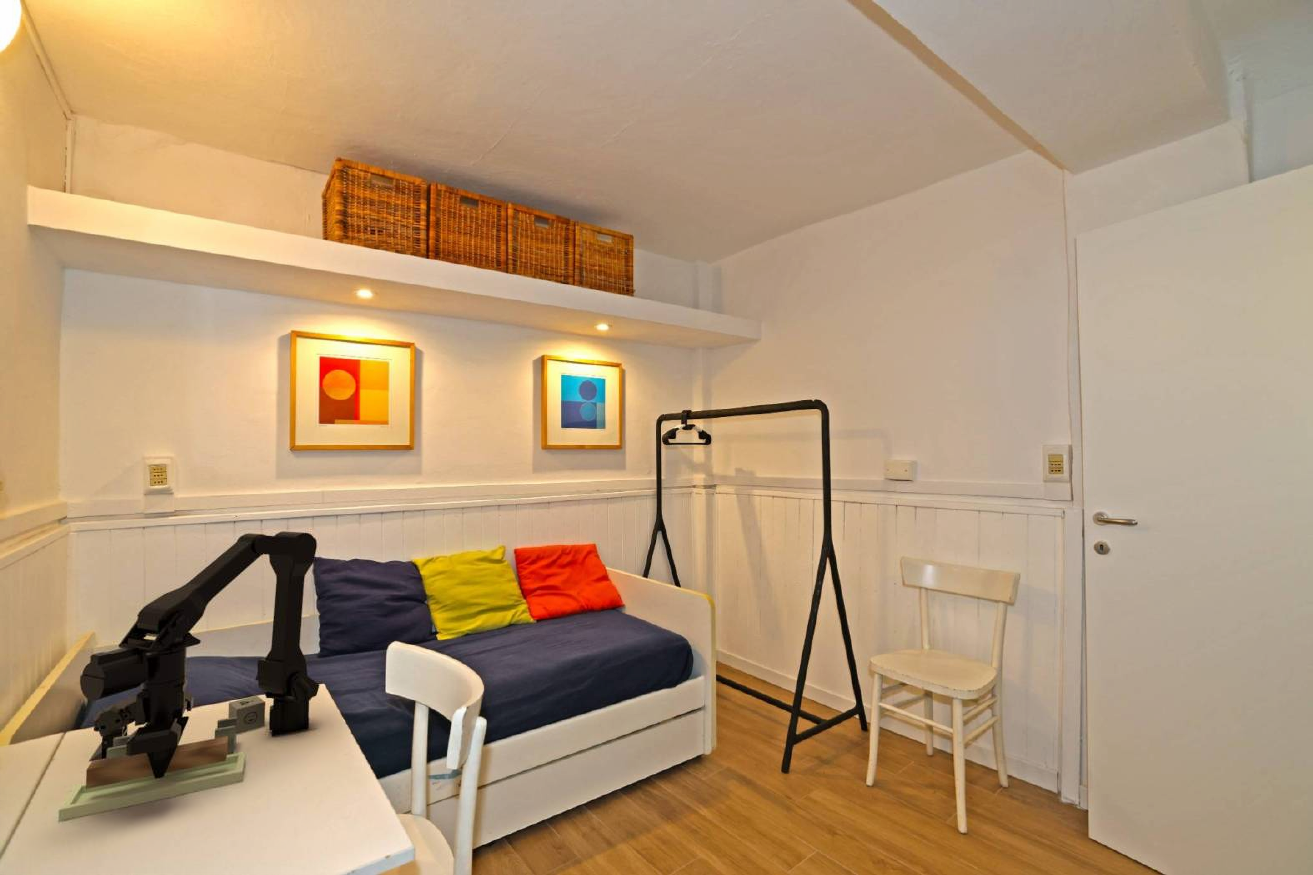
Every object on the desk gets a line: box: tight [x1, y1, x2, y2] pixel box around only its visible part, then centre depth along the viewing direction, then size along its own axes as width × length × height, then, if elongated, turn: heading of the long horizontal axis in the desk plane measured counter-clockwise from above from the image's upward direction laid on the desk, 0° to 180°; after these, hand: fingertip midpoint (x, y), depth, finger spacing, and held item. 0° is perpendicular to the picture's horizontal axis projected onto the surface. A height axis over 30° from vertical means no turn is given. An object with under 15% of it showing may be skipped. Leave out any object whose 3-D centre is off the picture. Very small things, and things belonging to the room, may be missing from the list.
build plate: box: [88, 725, 129, 763], centre depth 115 cm, size 12×7×5 cm, turn 30°
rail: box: [85, 736, 228, 789], centre depth 102 cm, size 18×3×3 cm, turn 121°
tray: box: [58, 751, 247, 822], centre depth 102 cm, size 23×8×2 cm, turn 121°
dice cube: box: [227, 695, 266, 735], centre depth 125 cm, size 5×5×5 cm
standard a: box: [214, 717, 237, 755], centre depth 115 cm, size 3×5×5 cm, turn 31°
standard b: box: [106, 734, 132, 759], centre depth 107 cm, size 3×5×5 cm, turn 31°
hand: (161, 772), depth 102 cm, fingers closed on rail, 3 cm apart
